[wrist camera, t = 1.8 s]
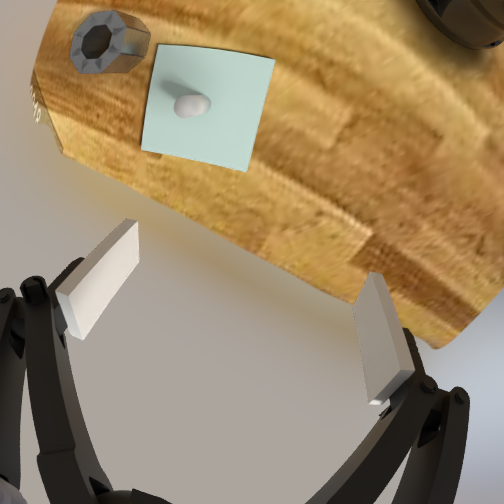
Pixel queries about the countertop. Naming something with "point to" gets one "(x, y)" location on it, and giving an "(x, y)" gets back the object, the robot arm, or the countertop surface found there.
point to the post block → (206, 104)
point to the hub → (109, 43)
